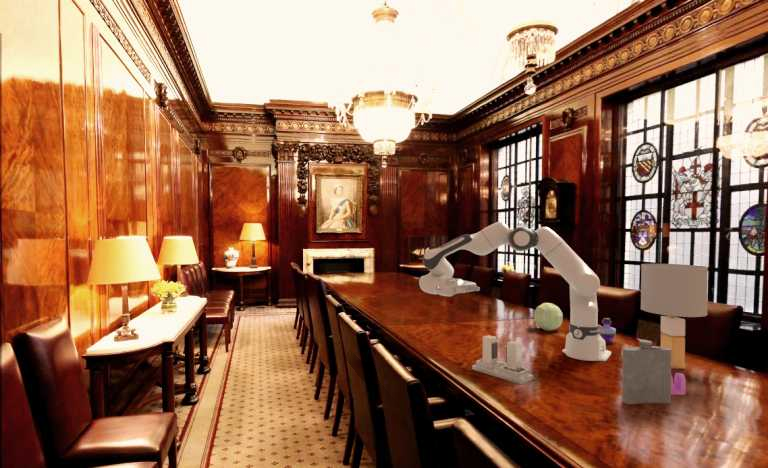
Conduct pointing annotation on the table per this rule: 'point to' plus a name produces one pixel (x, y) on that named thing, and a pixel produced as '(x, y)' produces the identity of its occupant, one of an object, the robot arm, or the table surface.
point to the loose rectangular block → (490, 350)
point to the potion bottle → (607, 331)
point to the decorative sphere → (548, 316)
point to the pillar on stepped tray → (513, 367)
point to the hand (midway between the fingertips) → (472, 290)
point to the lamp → (674, 301)
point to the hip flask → (646, 374)
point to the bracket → (678, 384)
